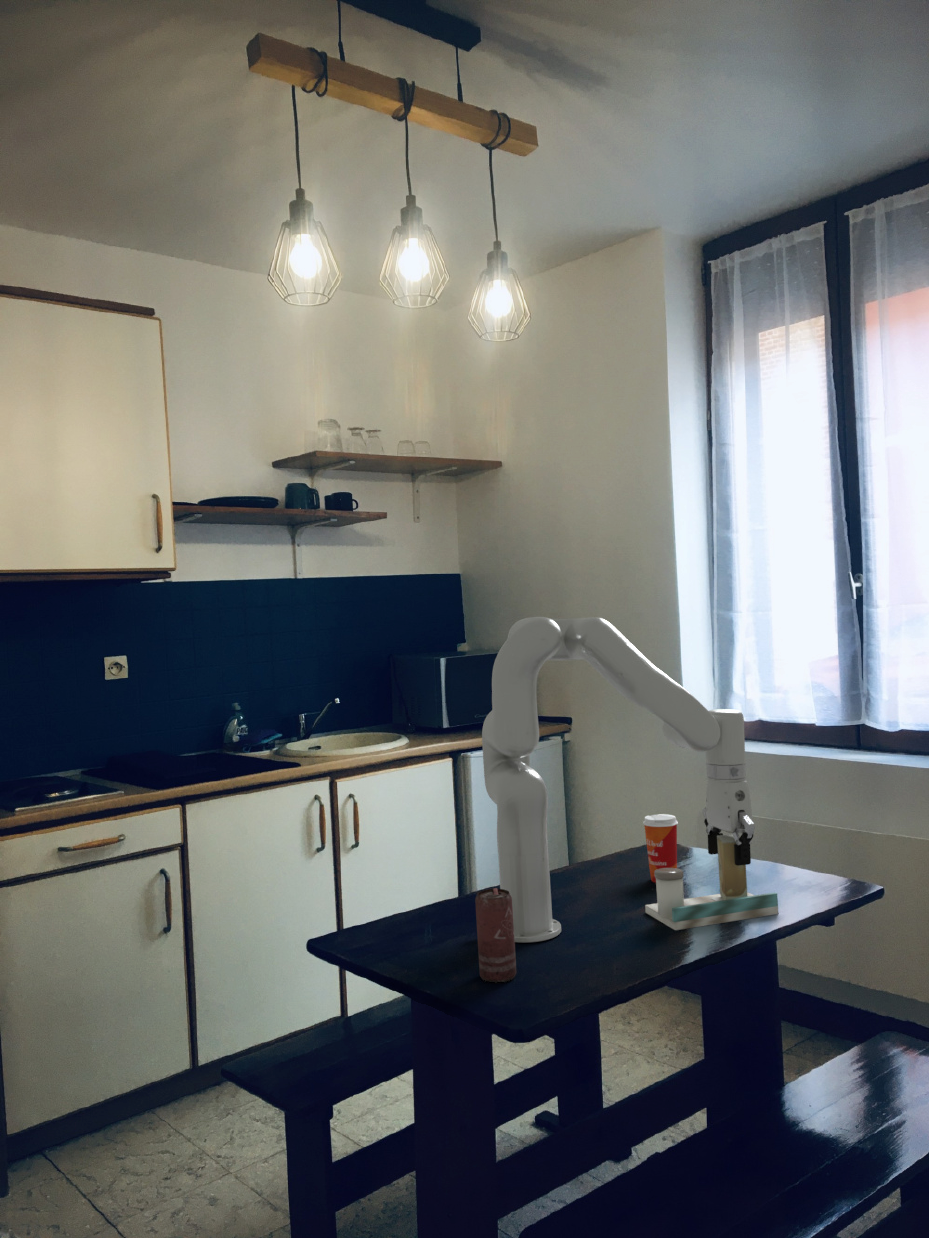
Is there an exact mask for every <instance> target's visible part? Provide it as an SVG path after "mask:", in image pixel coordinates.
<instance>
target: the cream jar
mask: <svg viewBox="0 0 929 1238" xmlns="http://www.w3.org/2000/svg"><path fill="white" fill-rule="evenodd" d="M654 873H655V878H656V883H655V885H656V900H657V901H656V903H657V904H658V914H659V915H660V916H663V917H672V908H676V907H682V906H684V899H685V897H684V881H683V880H684V879H683V878H684V870H683V869H681V868H678V867H677V868H660V869H657V870H655V871H654Z"/></svg>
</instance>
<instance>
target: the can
mask: <svg viewBox="0 0 929 1238" xmlns="http://www.w3.org/2000/svg"><path fill="white" fill-rule="evenodd" d="M474 901H475V903H474V904H475V917H476V919H475V920H476V932H477V933H476V934H477V935H476V936H477V950H478V951H477V952H478V965H479V966H478V968H479V977H480V978H481V979H482V980H483V981H484V980H485V981H484V982H486V981H489V982H495V983H494V984H498V983H497V982H504V983H508V982H511V981H513V979H515V977H516V975H517V961H516V960H517V957H516V942H515V940H514V924H513V907H512V897H511V895H510V893H509V891H507V890H504V889H500V888H497V887H495V888H489V889H483V890H480V891H478V892H477V893H476V897H475V899H474ZM510 980H511V981H510ZM507 981H508V982H507ZM489 982H488V983H489Z"/></svg>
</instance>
